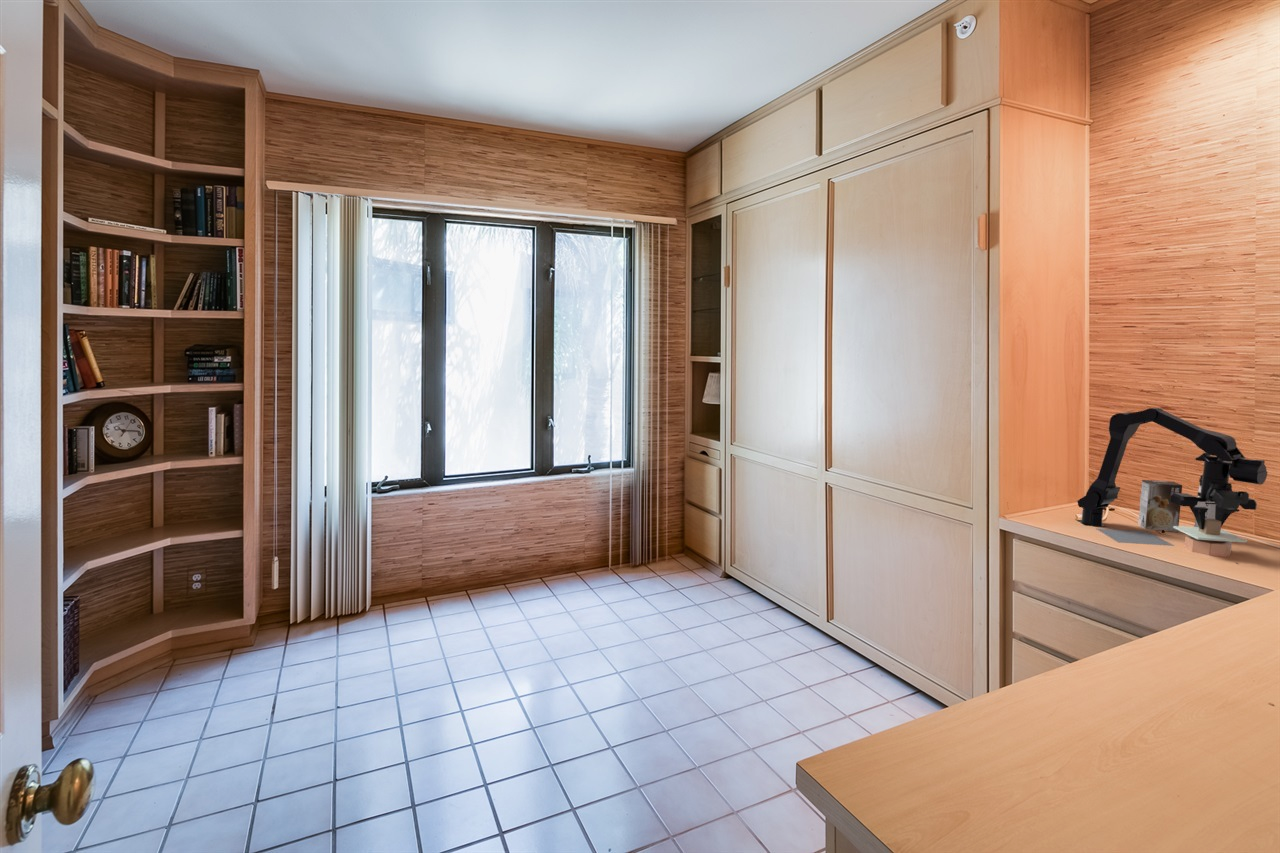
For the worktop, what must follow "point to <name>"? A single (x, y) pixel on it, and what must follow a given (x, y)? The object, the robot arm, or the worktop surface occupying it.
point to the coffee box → (1159, 505)
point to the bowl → (1208, 546)
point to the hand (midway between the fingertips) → (1209, 529)
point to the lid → (1210, 532)
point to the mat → (1134, 537)
